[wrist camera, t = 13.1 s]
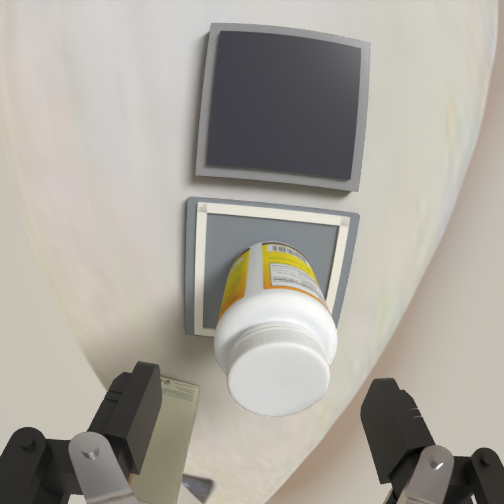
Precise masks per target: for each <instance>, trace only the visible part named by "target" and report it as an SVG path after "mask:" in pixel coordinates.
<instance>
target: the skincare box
mask: <svg viewBox="0 0 504 504" xmlns="http://www.w3.org/2000/svg"><path fill="white" fill-rule="evenodd" d="M160 378H161V387H162V404H161V409H160V412H159V415H158V418H157V421H156V424H155V427H154V430H153V433H152V437H151V440H150V443H149V446H148V449H147V453H146V456H145V459H144V462H143V466H142V469H141V472H140V475H136V474H132V473H130V476H129V479H128V484H129V486H130V488H131V490H132V492H133V494H134V495H135V497H136V499H137V501H138V503H139V504H177V499H178V494H179V490H180V485H181V480H182V475H183V470H184V466H185V461H186V456H187V451H188V447H189V442H190V437H191V433H192V428H193V423H194V419H195V414H196V409H197V403H198V396H199V386H196V385H192V384H188V383H184V382H180V381H176V380H173V379H168V378H164V377H161V376H160Z"/></svg>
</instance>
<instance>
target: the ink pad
mask: <svg viewBox="0 0 504 504" xmlns="http://www.w3.org/2000/svg"><path fill="white" fill-rule="evenodd" d="M369 73H370V43H369V42H365V41H361V40H356V39H352V38H347V37H343V36H338V35H333V34H328V33H322V32H316V31H310V30H303V29H296V28H288V27H279V26H269V25H256V24H237V23H211V27H210V34H209V41H208V49H207V57H206V65H205V73H204V82H203V91H202V101H201V111H200V122H199V134H198V146H197V159H196V174H195V175H199V176H214V177H228V178H241V179H252V180H263V181H273V182H283V183H292V184H301V185H309V186H317V187H325V188H332V189H340V190H347V191H354V192H358V190H359V183H360V175H361V167H362V159H363V150H364V140H365V130H366V119H367V106H368V91H369Z"/></svg>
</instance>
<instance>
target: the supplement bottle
mask: <svg viewBox="0 0 504 504" xmlns="http://www.w3.org/2000/svg"><path fill="white" fill-rule="evenodd" d="M336 349H337V331H336V327H335V323H334V321H333V318H332V315H331V313H330V311H329V308H328V306H327V303H326V301H325V299H324V296H323V294H322V292H321V289H320V287H319V284H318V282H317V280H316V277H315V275H314V273H313V271H312V268H311V266H310V264H309V262H308V261H307V259H306V258H305V256H304V255H303V254H302V253H301V252H300V251H298V250H297V249H296V248H294V247H292V246H290V245H288V244H285V243H282V242H277V241H267V242H261V243H257V244H254V245H252V246H250V247H248V248H247V249H245V250H244V251H243V252H241V253H240V254H239V255H238V256H237V258H236V259H235V260H234V262H233V263H232V265H231V268H230V270H229V274H228V278H227V283H226V287H225V291H224V295H223V300H222V304H221V309H220V313H219V318H218V322H217V326H216V330H215V336H214V351H215V356H216V359H217V361H218V364H219V365H220V367H221V369H222V370H223V372H224V373H225V374H226V375H227V385H228V390H229V392H230V394H231V396H232V397H233V399H234V400H235V401H236V402H237V403H238V404H239V405H240V406H242V407H243V408H245V409H246V410H248V411H250V412H253V413H256V414H259V415H264V416H272V417H280V416H288V415H293V414H296V413H299V412H302V411H304V410H306V409H308V408H310V407H311V406H313V405H314V404H315V403H317V402H318V401H319V400H320V399H321V397H322V396H323V395H324V393H325V392H326V390H327V388H328V385H329V379H330V372H329V366H330V364H331V362H332V361H333V358H334V356H335V353H336Z"/></svg>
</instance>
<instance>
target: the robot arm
mask: <svg viewBox="0 0 504 504" xmlns="http://www.w3.org/2000/svg"><path fill="white" fill-rule="evenodd" d="M161 404H162V387H161V378H160V369H159V365H158V364H153V363H147V362H141V361H138V362H137V364H136V366H135V368H134V370H133V372H132V373H127V372H123V373H122V374H120V375H119V376H118V377H117V378H115V379H114V380H113V382H112V384H111V386H110V388H109V391H108V392H107V393H106V395H105V398H104V400H103V402H102V403H101V405H100V407H99V409H98V411H97V413H96V415H95V417H94V419H93V421H92V423H91V425H90V427H89V429H88V430H87V432H83V433H80V434H78V435H76V436H75V437H74V438H73V439H72V440H54V439H46V438H45V437H44V435H43V434H42V433H41V432H40V431H39V430H37V429H35V428H32V427H24V428H21V429H18V430H17V431H16V432H14V433H13V435H12V436H11V438H10V440H9V442H8V443H7V445H6V447H5V449H4V451H3V453H2V455H1V456H0V504H68V501H69V497H70V495H71V494H77V495H84V497H85V500H86V502H87V504H139V503H138V501H137V499H136V497H135V495H134V494H133V492H132V490H131V488H130V486H129V484H128V479H129V476H130V473H132V474H136V475H140V472H141V469H142V466H143V462H144V459H145V456H146V453H147V449H148V446H149V443H150V440H151V437H152V433H153V430H154V427H155V424H156V421H157V418H158V415H159V412H160V409H161ZM360 415H361V421H362V424H363V428H364V431H365V434H366V437H367V440H368V444H369V446H370V450H371V453H372V457H373V460H374V464H375V467H376V470H377V474H378V477H379V481H380V484H385V483H391V484H392V488H391V490H390V491H389V493H388V495H387V497H386V499H385V501H384V503H383V504H473V502H472V499H471V496H472V495H473V494H474V496H475V499H476V502H477V504H504V467H503V465H502V463H501V461H500V459H499V457H498V455H497V454H496V453H495V452H494V451H493V450H491V449H489V448H479V449H477V450H476V451H475V452H474V453H473V454H472V456H471V457H463V456H453V455H452V454H451V452H450V451H449V450H447V449H446V448H444V447H442V446H439V445H435V442H434V440H433V438H432V436H431V434H430V432H429V430H428V428H427V426H426V424H425V422H424V419H423V417H421V413H420V411H419V410H418V409H417V406H416V404H415V402H414V400H413V398H412V397H411V396H410V395H409V394H408V393H407V392H406V391H405V390H400V389H399V387H398V385H397V383H396V381H395V379H393V378H381V379H374V380H373V381H372V383H371V386H370V388H369V390H368V393H367V395H366V397H365V400H364V402H363V404H362V407H361V414H360Z"/></svg>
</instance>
